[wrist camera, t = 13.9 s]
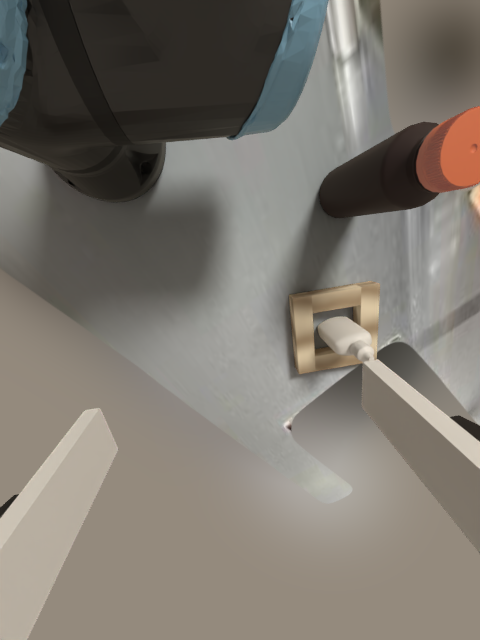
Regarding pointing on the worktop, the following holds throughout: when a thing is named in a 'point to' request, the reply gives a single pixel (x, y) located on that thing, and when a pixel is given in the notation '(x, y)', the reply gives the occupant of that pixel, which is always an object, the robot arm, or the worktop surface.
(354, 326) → the eye dropper bottle
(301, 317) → the square wooden frame
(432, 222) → the worktop surface
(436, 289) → the worktop surface
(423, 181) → the vinegar
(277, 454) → the worktop surface
